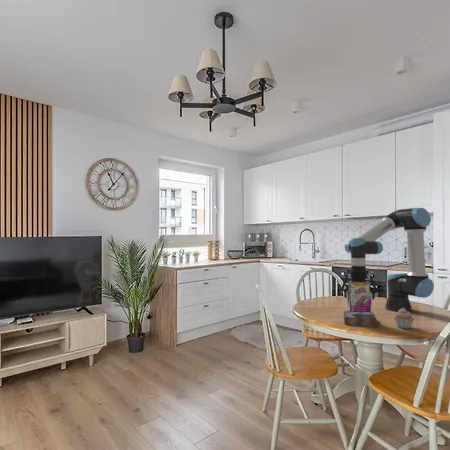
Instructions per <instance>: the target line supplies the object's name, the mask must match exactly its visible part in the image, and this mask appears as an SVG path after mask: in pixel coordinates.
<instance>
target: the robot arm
mask: <svg viewBox="0 0 450 450" xmlns="http://www.w3.org/2000/svg"><path fill="white" fill-rule="evenodd" d="M431 219H432V218H431V214H430V212H429V211H428V210H427V209H426V208H423V207H411V208H401V209H397V210H395V211H394V210H393V212H391V213H389V214H387V215H385V216H384V217H382V218H381V221H380V222H379V223H376V225H374V226H373V227H371V228H369V229H368V230H366V231H365V232H364V233H362V234H361V235H359V236H358V237H351V239H350V240H347V241H346V242H345V244H344V250H345V252H347V253H350V264H351V265H350V267H351V268H350V272H351V273H350V274H349V273H345V276H344V277H345V278H344V279H343V282H342V285H341V287H340V291H341V292H343V293H344V299H346V305H348V289H349V285H348V284H347V283H348V279H349V278H351V280H350V281H351V282H364V283H367V282H368V281H366V279H367V278H368V279H369V282H370V283H371V286H372V287H370V286H369V290H370V291H371V307H372V306H373V300H375V299H376V298H375V294H377V293H379V290H378V288H377V286H376V284H375V281H374V280H373V275H372V274H367V268H366V267H367V266H366V265H367V263H366V257H367V255H380V254H381V253H383V250H384V247H383V244H382V242H380V241H378V239H379V238H381V237H382V236H384V235H385V234H387V233H388V232H390V231H394V230H396V229H399V228H400V229H401V228H403V230H404V231H405V232H406V235H407V238H406V239H407V256H408V259H407V260H408V272H407V273H390V274H388V275H387V281H386V282H387V298H386V301H385V303H384V304H385V305H384V307H385V309H387V311H393V312H398V311H399V310H400V309H402V308H404V309H405V310H406V311H408V312H412V311H413V306H412V304H411V301H410V298H409V296H411V297H417V298H423V299H425V298H429V297H430V296H431V295H432V293H433V291H434V289H435V288H434V287H435V284H434V281H433V280H432V279H431V278H430V277H429V274H428V273H427V272H426V258H425V257H426V256H425V240H424V239H425V238H424V237H425V235H424V234H425V232H426V231H427V227H429V226H430V223H431V221H432V220H431ZM346 285H347V286H346Z"/></svg>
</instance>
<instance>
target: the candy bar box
mask: <svg viewBox="0 0 450 450" xmlns="http://www.w3.org/2000/svg"><path fill="white" fill-rule="evenodd" d="M366 282H367V283H364V282H351V280H350V281H348V280H347V286H348V285H349V289H348V290H347V292H348V304H347V311H350V312H372V306H371V293H372V292H371V291H370V290H369V286H370V287H371V286H372V283H371V282H370V281H366ZM371 288H372V287H371Z"/></svg>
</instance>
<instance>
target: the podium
mask: <svg viewBox="0 0 450 450" xmlns="http://www.w3.org/2000/svg"><path fill="white" fill-rule="evenodd" d="M343 319H344V325H346V326H347V325H348V326H356V327H357V326H360V327H370V328H371V327H372V328H373V327H374V328H378V319H377V317H376V315H375V312H372V311H371V312H350V311H349V310H344V311H343Z"/></svg>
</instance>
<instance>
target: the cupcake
mask: <svg viewBox="0 0 450 450" xmlns="http://www.w3.org/2000/svg"><path fill="white" fill-rule="evenodd" d="M393 318H394V321H395V324H396V326H397V328H399V329H403V330H410V329H411V328H412V327H413V326H412V325H413V322H414V320H415V318H413V316H412V314H411V311H409V312H408V311H406V310H405V309H404V308H402V309H400V310H399V311H396V313H395V316H393Z"/></svg>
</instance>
